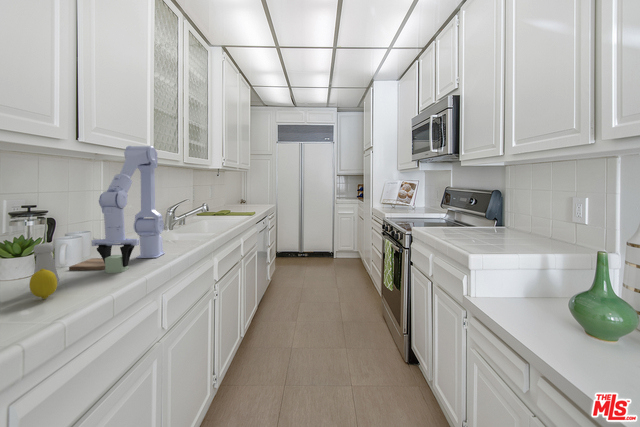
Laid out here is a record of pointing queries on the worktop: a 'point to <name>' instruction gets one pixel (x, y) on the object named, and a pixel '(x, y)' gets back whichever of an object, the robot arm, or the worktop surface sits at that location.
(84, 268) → the cutting board
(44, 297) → the lemon
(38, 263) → the salt shaker
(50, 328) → the worktop surface
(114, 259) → the green cube
